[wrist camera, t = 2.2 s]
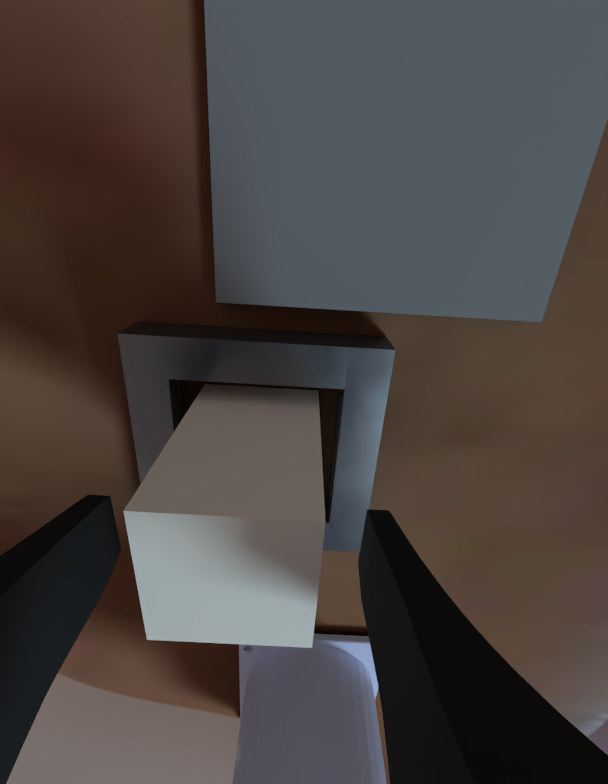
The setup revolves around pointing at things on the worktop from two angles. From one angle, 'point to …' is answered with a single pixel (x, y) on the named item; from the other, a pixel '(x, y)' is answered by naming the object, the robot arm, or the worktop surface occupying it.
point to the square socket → (267, 367)
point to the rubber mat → (401, 150)
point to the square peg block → (233, 521)
